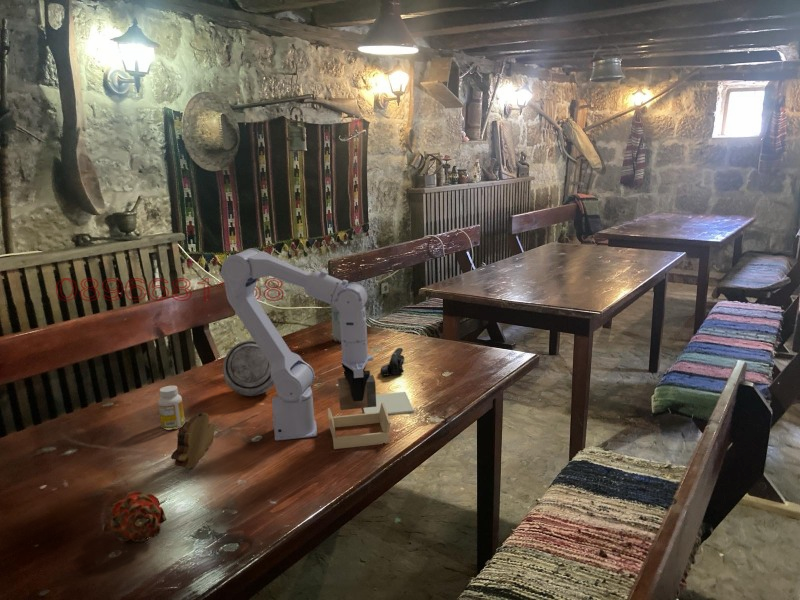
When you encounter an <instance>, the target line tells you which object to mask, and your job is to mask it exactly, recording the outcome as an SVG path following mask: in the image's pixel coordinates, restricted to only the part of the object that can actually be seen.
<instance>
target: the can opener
mask: <svg viewBox="0 0 800 600" xmlns="http://www.w3.org/2000/svg"><path fill="white" fill-rule="evenodd" d="M403 351H404V349H403V348H402V347H399V348H396V349H395V350H394V351H393V352H392V355H391V357H390V359H389V363H388V364H385V365H382V366H381V368H380V375H382V376H391V375H394V376H397V375H401V374H403V373H404V367H403V365H404V363H405V355H402V353H403Z"/></svg>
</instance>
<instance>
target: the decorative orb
mask: <svg viewBox="0 0 800 600" xmlns="http://www.w3.org/2000/svg"><path fill="white" fill-rule="evenodd" d="M222 376H223V378H224V381H225V383H226V385H227V386H228V387H229V388H230V389H231V390H232V391H234V392H235V393H236V394H239V395H241V396H246V397H254V396H260V395H262V394H264V393H267V392H268V391H269V390H270V389H271V388H272V387H273V386H275V384H274V381H273V380H272V378H271V365H270V363H269V362H268V360H267V359H266V357H265V356H264V354H263V353H262V351H261V350H260V348H259V347H258V345H257V344H256V342H255V341H254V339H253V340H252V339H248V340H244V341H240V342H238V343H237V344H234V346H232V347H231V348H230V349H229V350H228V352H227V353H226V355H225V356H224V359H223V363H222Z"/></svg>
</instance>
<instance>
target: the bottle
mask: <svg viewBox="0 0 800 600" xmlns="http://www.w3.org/2000/svg"><path fill="white" fill-rule="evenodd" d="M329 307H330V310H331V311H330V312H331V324H332V325H331V326H332V328H331V335H332V339H333V340H334V341H335V342H339V343H341V328H340V312H339V311H338V309H337V308H336V306H333V305H331V304H329Z"/></svg>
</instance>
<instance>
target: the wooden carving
mask: <svg viewBox="0 0 800 600" xmlns="http://www.w3.org/2000/svg"><path fill="white" fill-rule="evenodd" d="M215 428H216V424H215V423H210V417H209V414H208V412H207V413H206V412H199V413H198V414H197V415H193V416H192V417H190V419H189V420H188V421H185V423H184V425H182V427H180V428H179V429H178V432H177V434H176V437H177V445H176V449H175V450H174V451H173V452H172V454H171V456H170V458H171V460H175V461H174V466H175V467H180V468H185V469H191V468H193V467H195V465H196V464H197V463H198V462H199V460H200V459H201V458H202V457H204V456H205V454H206V452H207V450H208V448H209V447H211V446H212V444H213V443H214V436H215ZM202 459H203V458H202ZM202 459H201V460H202ZM199 463H200V462H199ZM199 463H198V464H199ZM198 464H197V465H198ZM197 465H196V466H197Z"/></svg>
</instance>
